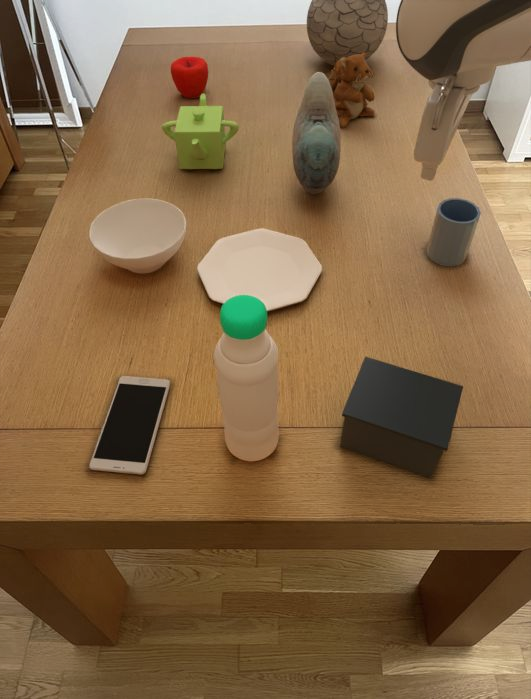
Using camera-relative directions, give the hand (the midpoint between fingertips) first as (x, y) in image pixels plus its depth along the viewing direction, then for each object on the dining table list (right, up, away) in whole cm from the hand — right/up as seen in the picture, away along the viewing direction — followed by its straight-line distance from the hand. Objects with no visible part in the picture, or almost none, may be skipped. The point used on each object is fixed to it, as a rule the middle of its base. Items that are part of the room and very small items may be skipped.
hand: (436, 159), depth 79 cm
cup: (+7, -10, +19) cm, 22 cm away
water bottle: (-26, -39, -4) cm, 47 cm away
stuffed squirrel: (-6, +28, +51) cm, 59 cm away
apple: (-42, +35, +58) cm, 80 cm away
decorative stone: (-14, +5, +32) cm, 35 cm away
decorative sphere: (-4, +47, +68) cm, 83 cm away
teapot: (-37, +13, +39) cm, 56 cm away
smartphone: (-42, -37, -3) cm, 56 cm away
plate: (-25, -14, +16) cm, 33 cm away
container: (-7, -38, -4) cm, 39 cm away
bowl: (-45, -11, +19) cm, 50 cm away
